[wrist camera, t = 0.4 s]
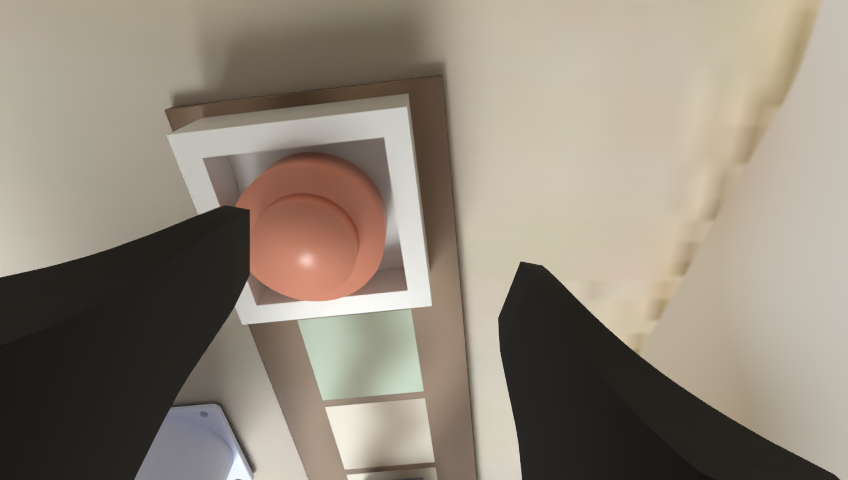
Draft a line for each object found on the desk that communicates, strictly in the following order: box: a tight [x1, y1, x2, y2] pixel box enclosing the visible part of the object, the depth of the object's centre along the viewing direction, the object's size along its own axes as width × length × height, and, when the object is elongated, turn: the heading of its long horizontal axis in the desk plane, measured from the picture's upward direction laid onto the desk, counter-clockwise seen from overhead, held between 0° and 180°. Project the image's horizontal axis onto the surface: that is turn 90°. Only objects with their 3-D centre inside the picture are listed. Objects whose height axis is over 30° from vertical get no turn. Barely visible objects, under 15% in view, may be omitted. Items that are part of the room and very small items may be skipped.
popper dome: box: [235, 152, 387, 301], centre depth 17 cm, size 6×6×3 cm
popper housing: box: [167, 94, 432, 325], centre depth 19 cm, size 9×9×3 cm
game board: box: [165, 75, 476, 480], centre depth 26 cm, size 12×33×1 cm, turn 6°
